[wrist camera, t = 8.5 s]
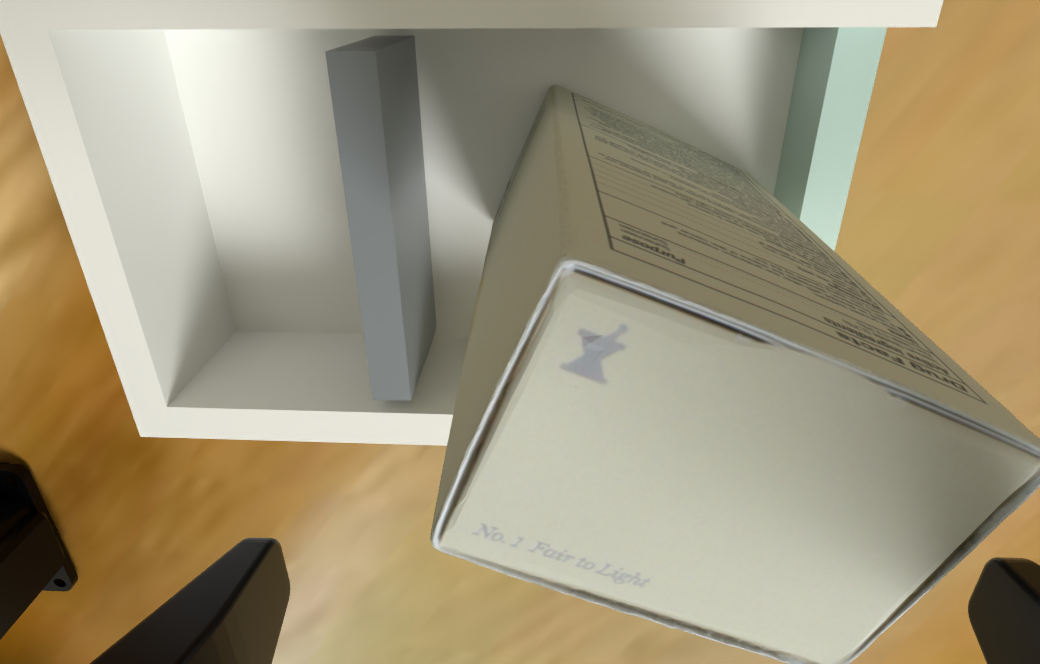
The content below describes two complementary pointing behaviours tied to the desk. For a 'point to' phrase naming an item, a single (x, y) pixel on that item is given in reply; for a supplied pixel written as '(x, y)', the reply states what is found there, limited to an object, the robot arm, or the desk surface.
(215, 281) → the box
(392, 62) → the tall grey panel
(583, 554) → the skincare box
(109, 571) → the desk surface
